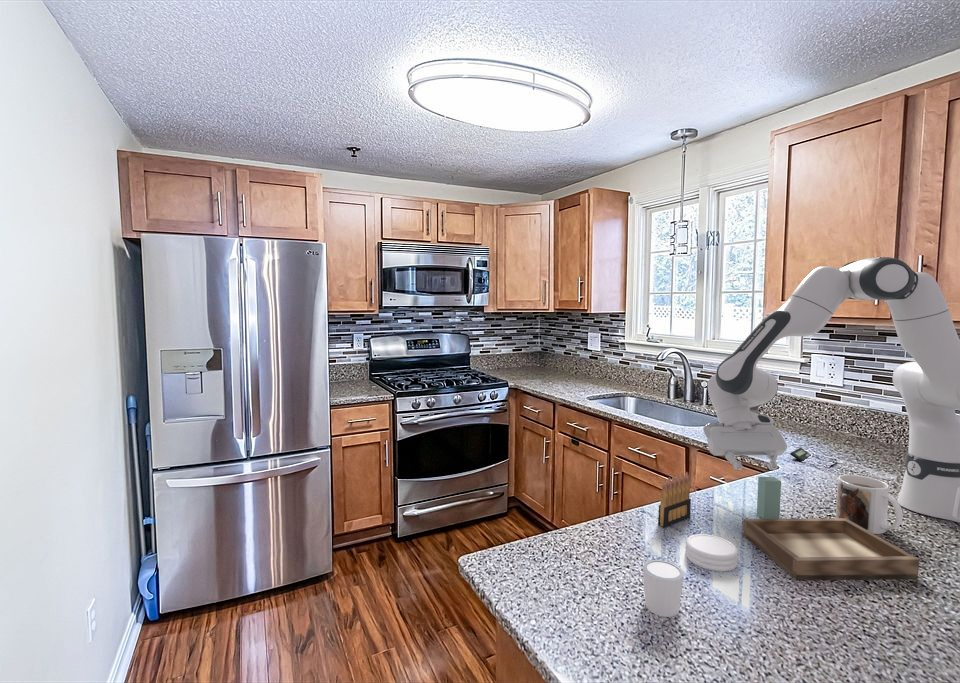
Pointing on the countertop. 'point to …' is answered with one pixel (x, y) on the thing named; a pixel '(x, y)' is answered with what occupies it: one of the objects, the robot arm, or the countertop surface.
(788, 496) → the countertop surface
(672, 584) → the white cylinder
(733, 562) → the white round disc stack
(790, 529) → the wooden serving tray
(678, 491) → the ammunition clip
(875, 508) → the mug
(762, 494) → the grey-green rectangular block
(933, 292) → the robot arm
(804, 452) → the calculator
